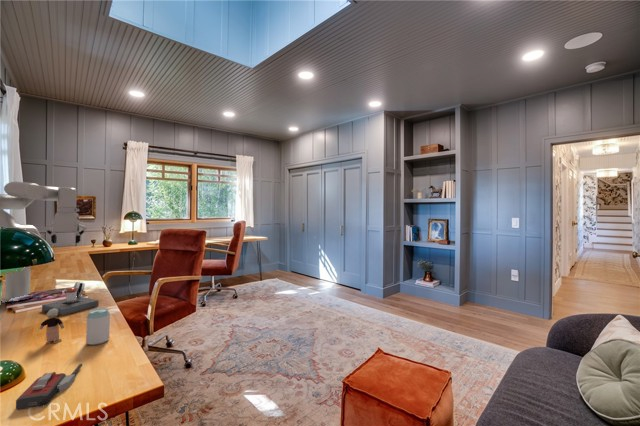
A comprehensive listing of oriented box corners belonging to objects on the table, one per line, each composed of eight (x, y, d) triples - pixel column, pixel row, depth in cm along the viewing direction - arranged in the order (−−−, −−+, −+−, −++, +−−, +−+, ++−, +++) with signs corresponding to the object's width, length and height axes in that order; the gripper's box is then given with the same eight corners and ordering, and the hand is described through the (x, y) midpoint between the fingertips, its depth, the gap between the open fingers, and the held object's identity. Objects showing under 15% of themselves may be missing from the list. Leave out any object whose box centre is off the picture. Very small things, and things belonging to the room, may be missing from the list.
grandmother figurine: (66, 338, 114) (67, 306, 113) (62, 342, 110) (63, 309, 110) (40, 341, 110) (41, 308, 110) (36, 346, 107) (37, 311, 107)
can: (110, 342, 111) (111, 311, 111) (87, 347, 106) (87, 315, 106) (107, 336, 116) (108, 306, 116) (85, 341, 112) (86, 310, 112)
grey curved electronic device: (66, 296, 167) (74, 279, 169) (76, 297, 170) (84, 280, 172) (66, 303, 154) (74, 284, 157) (77, 305, 157) (85, 286, 160)
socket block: (42, 311, 143) (42, 304, 143) (78, 301, 157) (79, 296, 157) (62, 315, 137) (62, 309, 137) (98, 305, 152) (98, 300, 152)
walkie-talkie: (55, 407, 75) (85, 368, 94) (55, 390, 75) (85, 354, 94) (10, 415, 72) (50, 373, 90) (10, 397, 72) (50, 358, 90)
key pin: (67, 307, 148) (68, 288, 148) (77, 306, 150) (77, 287, 150) (64, 310, 145) (64, 290, 145) (74, 309, 146) (75, 289, 146)
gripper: (89, 211, 161) (88, 242, 161) (48, 210, 154) (48, 242, 154) (84, 211, 154) (84, 243, 154) (42, 210, 147) (41, 244, 147)
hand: (66, 243), depth 154 cm, fingers open, 9 cm apart
